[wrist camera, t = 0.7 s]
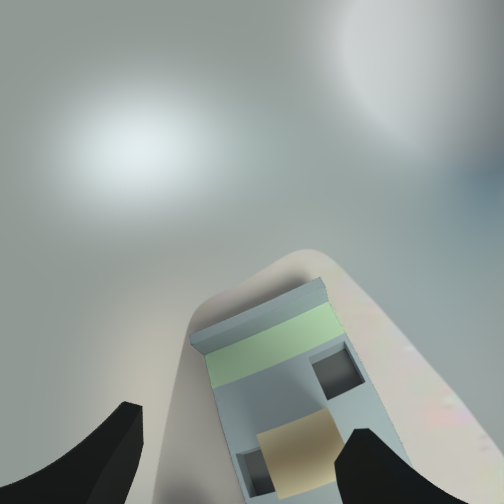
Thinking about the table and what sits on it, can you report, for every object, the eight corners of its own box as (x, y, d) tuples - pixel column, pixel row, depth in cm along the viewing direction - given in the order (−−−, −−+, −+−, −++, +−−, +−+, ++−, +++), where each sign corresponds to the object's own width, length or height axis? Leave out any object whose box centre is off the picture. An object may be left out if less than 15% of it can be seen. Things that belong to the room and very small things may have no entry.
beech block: (355, 469, 16) (355, 472, 12) (294, 492, 16) (279, 499, 13) (332, 417, 19) (327, 407, 16) (274, 440, 19) (256, 434, 16)
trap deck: (417, 485, 14) (430, 491, 11) (269, 541, 15) (251, 554, 11) (326, 303, 27) (320, 276, 24) (211, 354, 28) (189, 334, 25)
